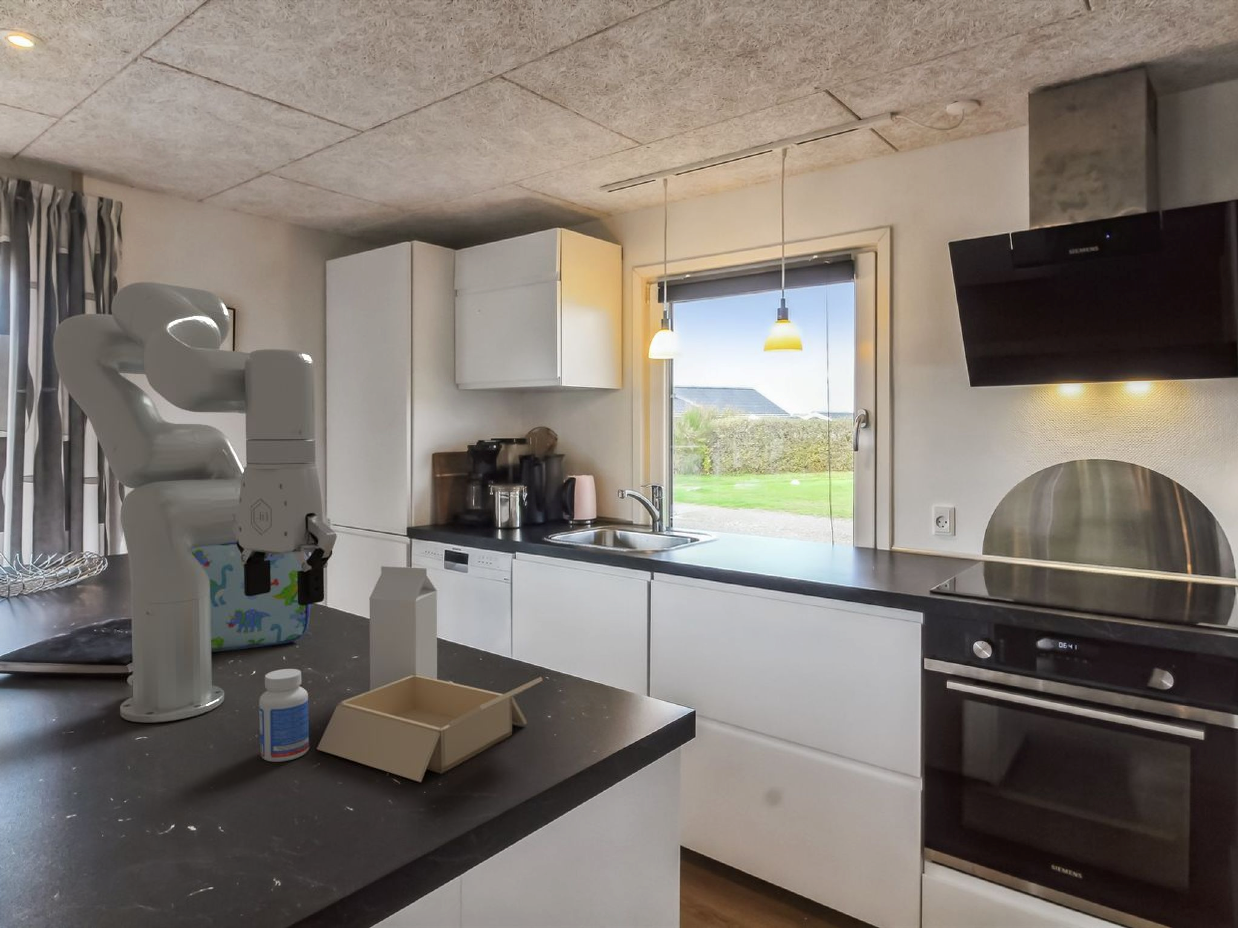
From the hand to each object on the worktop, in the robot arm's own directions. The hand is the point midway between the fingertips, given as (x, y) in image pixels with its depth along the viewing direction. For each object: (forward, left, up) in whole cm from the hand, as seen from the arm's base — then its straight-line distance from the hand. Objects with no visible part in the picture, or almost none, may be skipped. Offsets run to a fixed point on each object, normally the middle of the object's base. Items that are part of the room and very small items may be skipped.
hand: (283, 598), depth 92 cm
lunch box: (-48, +25, -19) cm, 57 cm away
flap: (+20, +12, -13) cm, 27 cm away
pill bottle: (0, 0, -19) cm, 19 cm away
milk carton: (-3, +22, -19) cm, 29 cm away
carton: (+10, +12, -19) cm, 24 cm away
